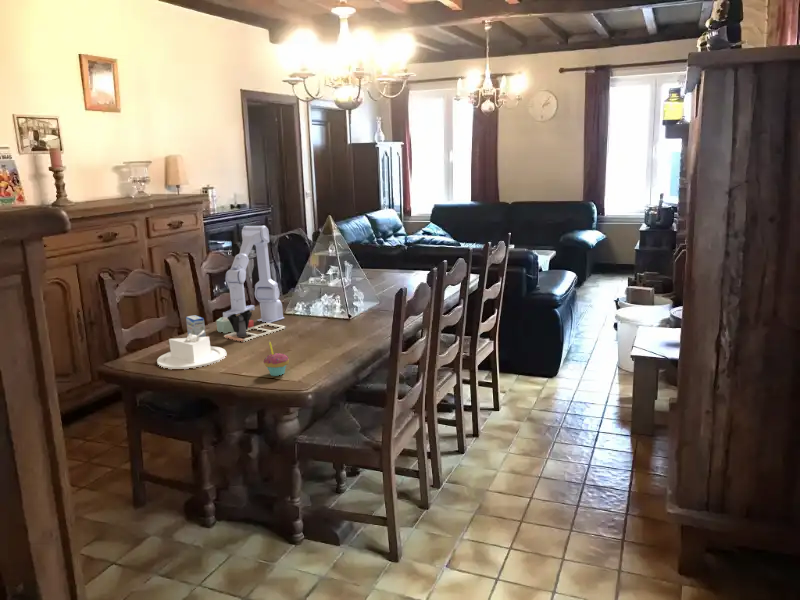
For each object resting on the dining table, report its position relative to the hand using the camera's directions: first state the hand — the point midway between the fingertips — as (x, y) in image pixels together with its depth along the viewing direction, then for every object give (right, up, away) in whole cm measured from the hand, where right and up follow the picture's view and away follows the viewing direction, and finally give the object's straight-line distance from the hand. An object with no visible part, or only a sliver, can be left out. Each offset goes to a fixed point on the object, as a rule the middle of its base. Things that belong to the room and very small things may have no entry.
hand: (241, 330), depth 271 cm
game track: (+5, -1, +6) cm, 8 cm away
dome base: (-8, 0, +13) cm, 15 cm away
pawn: (0, -2, 0) cm, 2 cm away
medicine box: (-19, -3, +4) cm, 20 cm away
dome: (-8, +1, +12) cm, 15 cm away
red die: (0, +1, +15) cm, 15 cm away
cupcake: (+23, -13, -44) cm, 52 cm away
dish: (-12, -10, -24) cm, 29 cm away
